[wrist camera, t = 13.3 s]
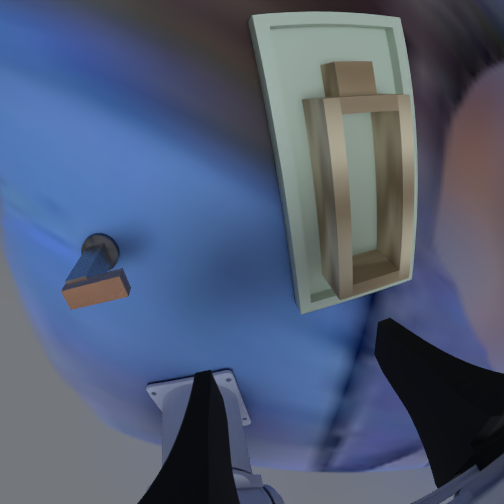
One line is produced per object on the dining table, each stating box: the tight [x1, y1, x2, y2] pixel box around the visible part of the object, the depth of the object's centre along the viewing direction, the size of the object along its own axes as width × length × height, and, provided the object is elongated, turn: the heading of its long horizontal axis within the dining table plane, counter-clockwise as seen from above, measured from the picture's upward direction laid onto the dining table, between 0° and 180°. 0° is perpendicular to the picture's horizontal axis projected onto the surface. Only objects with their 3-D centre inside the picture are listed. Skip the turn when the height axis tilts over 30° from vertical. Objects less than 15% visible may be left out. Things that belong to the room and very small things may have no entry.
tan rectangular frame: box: [302, 61, 414, 300], centre depth 17 cm, size 14×5×3 cm, turn 10°
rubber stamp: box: [61, 233, 131, 310], centre depth 16 cm, size 3×4×5 cm, turn 100°
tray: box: [248, 12, 418, 314], centre depth 18 cm, size 20×10×2 cm, turn 10°
